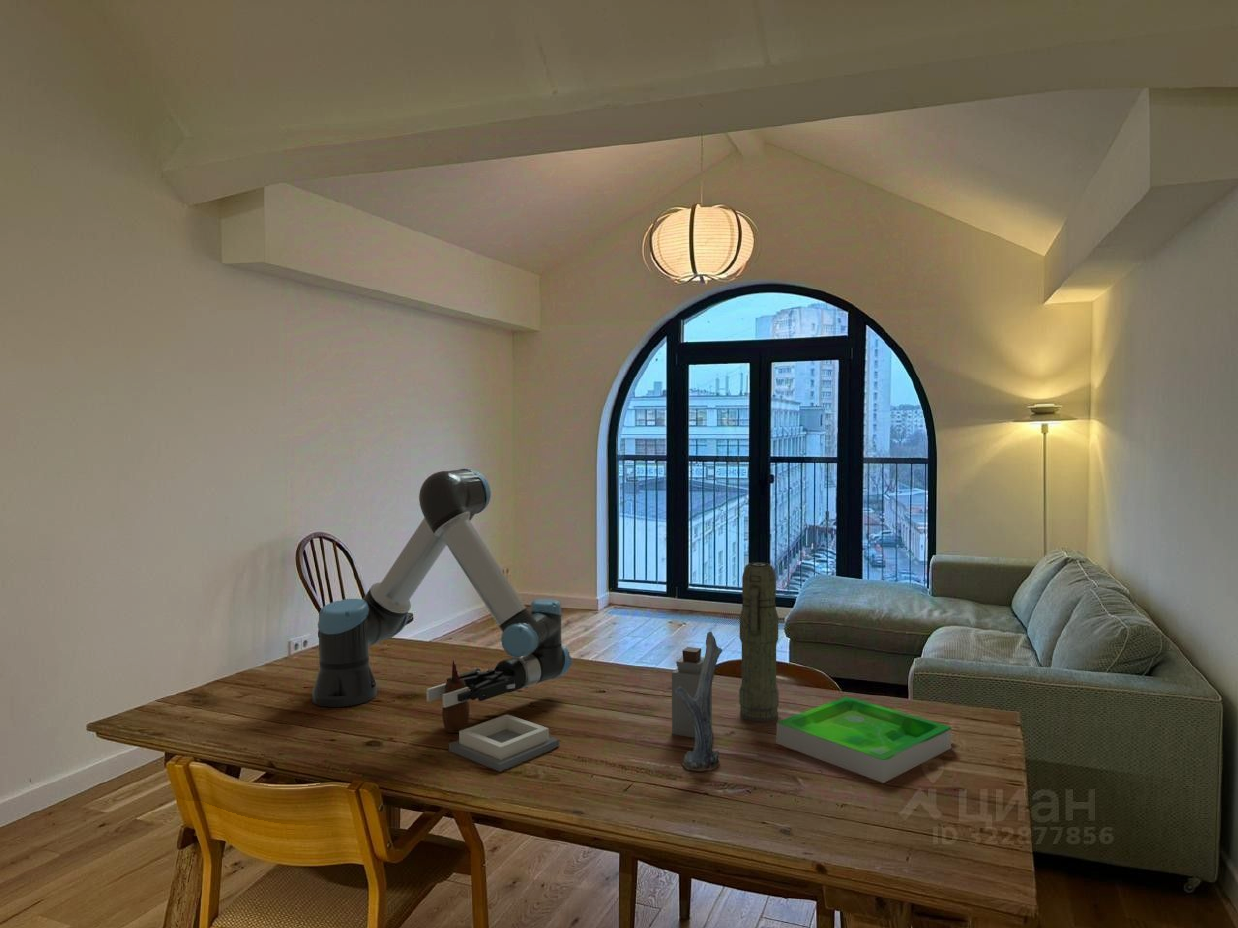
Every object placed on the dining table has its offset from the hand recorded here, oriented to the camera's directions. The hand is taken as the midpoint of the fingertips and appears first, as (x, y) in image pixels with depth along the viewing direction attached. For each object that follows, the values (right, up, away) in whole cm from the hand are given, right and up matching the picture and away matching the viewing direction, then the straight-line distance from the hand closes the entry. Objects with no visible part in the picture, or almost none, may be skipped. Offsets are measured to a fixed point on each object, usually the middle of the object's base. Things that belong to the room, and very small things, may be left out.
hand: (435, 698), depth 171 cm
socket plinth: (+16, -9, -6) cm, 19 cm away
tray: (+90, -9, -6) cm, 91 cm away
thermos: (+72, -8, +13) cm, 73 cm away
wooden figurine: (+4, -9, +4) cm, 10 cm away
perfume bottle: (+55, -8, +3) cm, 56 cm away
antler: (+56, -9, -13) cm, 58 cm away
